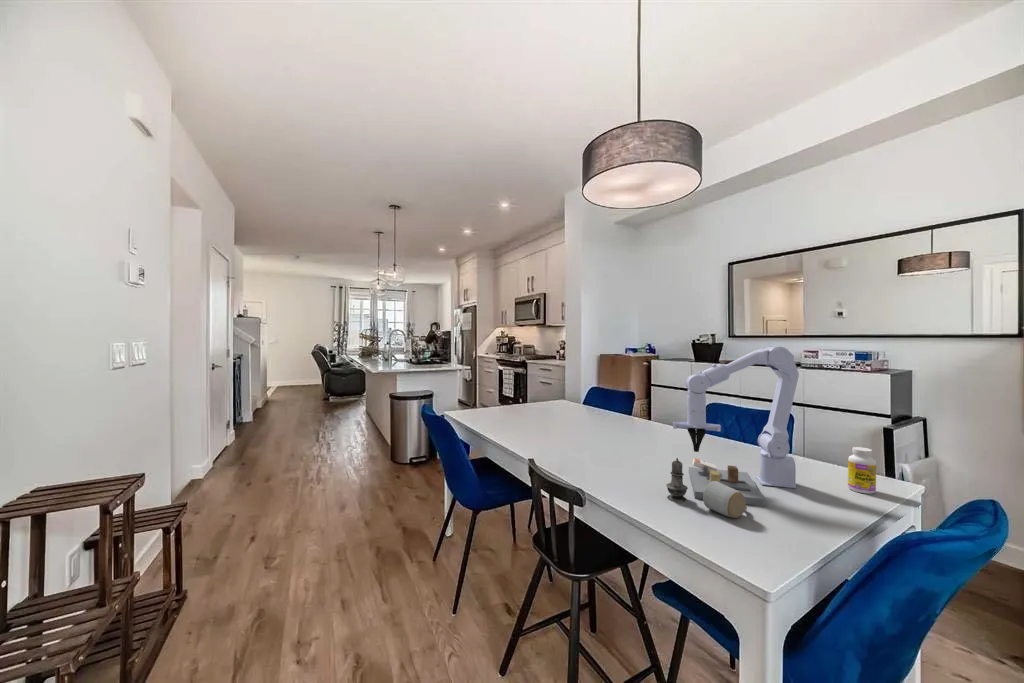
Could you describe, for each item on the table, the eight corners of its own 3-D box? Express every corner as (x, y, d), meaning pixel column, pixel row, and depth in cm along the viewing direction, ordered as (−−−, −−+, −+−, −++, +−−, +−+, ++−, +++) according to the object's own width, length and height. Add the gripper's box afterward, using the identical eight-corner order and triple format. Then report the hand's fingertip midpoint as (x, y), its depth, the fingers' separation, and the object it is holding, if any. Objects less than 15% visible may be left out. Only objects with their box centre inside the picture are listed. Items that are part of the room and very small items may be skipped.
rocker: (713, 469, 141) (715, 464, 141) (715, 473, 136) (717, 468, 136) (692, 462, 143) (693, 457, 143) (693, 466, 138) (694, 461, 138)
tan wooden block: (718, 484, 128) (718, 470, 128) (720, 488, 124) (720, 475, 124) (709, 483, 129) (709, 470, 129) (711, 487, 125) (711, 474, 125)
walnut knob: (735, 478, 133) (736, 466, 132) (738, 482, 129) (738, 469, 129) (727, 477, 133) (727, 465, 133) (729, 482, 130) (729, 469, 129)
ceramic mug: (729, 522, 107) (730, 492, 107) (702, 510, 114) (702, 482, 114) (755, 515, 112) (756, 486, 112) (727, 504, 119) (727, 477, 119)
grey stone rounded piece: (689, 503, 119) (690, 461, 119) (667, 501, 120) (668, 460, 120) (685, 495, 125) (685, 455, 124) (664, 494, 126) (665, 454, 126)
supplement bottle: (851, 492, 127) (852, 450, 127) (844, 485, 133) (845, 445, 133) (879, 496, 124) (880, 452, 124) (871, 488, 130) (871, 447, 130)
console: (747, 478, 140) (747, 464, 139) (764, 506, 117) (765, 489, 117) (688, 472, 145) (688, 458, 145) (694, 498, 123) (694, 481, 123)
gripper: (673, 411, 139) (673, 452, 139) (722, 414, 134) (722, 456, 134) (672, 408, 145) (672, 446, 146) (719, 410, 141) (718, 450, 141)
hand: (696, 451), depth 140 cm, fingers closed
